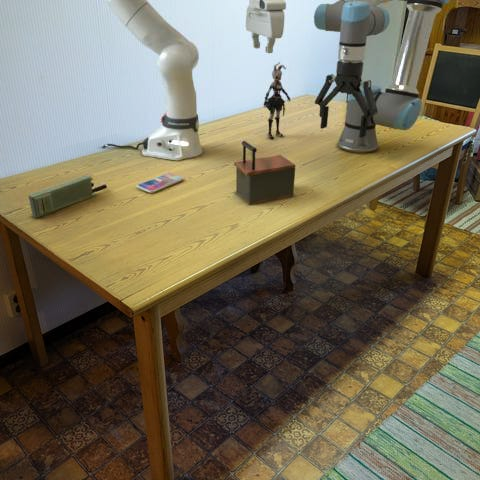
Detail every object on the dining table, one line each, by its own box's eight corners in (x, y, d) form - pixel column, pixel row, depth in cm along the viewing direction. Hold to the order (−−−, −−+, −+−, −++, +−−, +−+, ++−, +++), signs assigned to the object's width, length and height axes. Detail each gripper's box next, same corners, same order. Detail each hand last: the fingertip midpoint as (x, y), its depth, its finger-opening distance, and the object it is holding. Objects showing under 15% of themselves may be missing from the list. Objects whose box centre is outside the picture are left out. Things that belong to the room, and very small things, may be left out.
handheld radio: (30, 215, 144) (102, 188, 161) (37, 219, 142) (109, 191, 159) (26, 193, 140) (100, 168, 157) (33, 197, 138) (107, 171, 155)
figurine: (266, 142, 202) (269, 63, 187) (256, 138, 206) (258, 61, 191) (291, 134, 211) (296, 59, 196) (280, 131, 215) (284, 57, 200)
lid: (247, 175, 147) (247, 150, 143) (233, 165, 154) (233, 140, 150) (295, 167, 153) (297, 143, 149) (280, 157, 160) (281, 134, 156)
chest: (249, 204, 152) (249, 175, 147) (236, 193, 159) (236, 164, 154) (293, 196, 158) (295, 167, 153) (278, 185, 165) (280, 157, 160)
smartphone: (184, 177, 167) (150, 191, 157) (184, 180, 167) (151, 194, 157) (168, 171, 171) (134, 185, 161) (168, 174, 171) (135, 188, 161)
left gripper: (241, -2, 157) (240, 45, 164) (268, 4, 140) (266, 56, 147) (259, -2, 159) (258, 45, 166) (289, 3, 142) (286, 55, 149)
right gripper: (307, 57, 151) (302, 126, 161) (384, 68, 137) (373, 143, 148) (320, 53, 156) (314, 121, 166) (396, 64, 142) (385, 137, 153)
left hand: (262, 50), depth 156 cm, fingers open, 8 cm apart
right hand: (342, 132), depth 157 cm, fingers open, 13 cm apart
